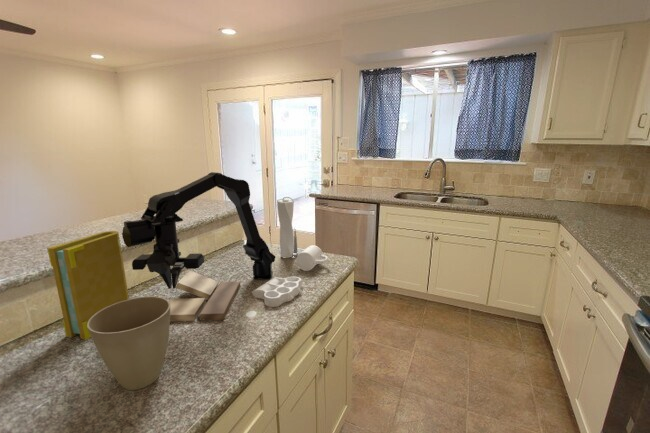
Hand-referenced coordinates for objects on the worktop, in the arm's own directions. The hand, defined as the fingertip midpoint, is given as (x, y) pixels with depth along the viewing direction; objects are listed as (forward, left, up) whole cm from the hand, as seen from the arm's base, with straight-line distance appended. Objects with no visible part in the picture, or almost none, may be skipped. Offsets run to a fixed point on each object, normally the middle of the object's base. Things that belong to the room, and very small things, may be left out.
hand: (172, 288), depth 95 cm
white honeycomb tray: (-31, -11, -9) cm, 34 cm away
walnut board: (-13, -6, -8) cm, 16 cm away
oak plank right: (-3, -12, -6) cm, 14 cm away
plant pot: (-4, +28, -8) cm, 29 cm away
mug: (-43, -34, -8) cm, 56 cm away
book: (+19, +4, -8) cm, 21 cm away
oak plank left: (-2, 0, -8) cm, 8 cm away
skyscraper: (-31, -48, -8) cm, 58 cm away
